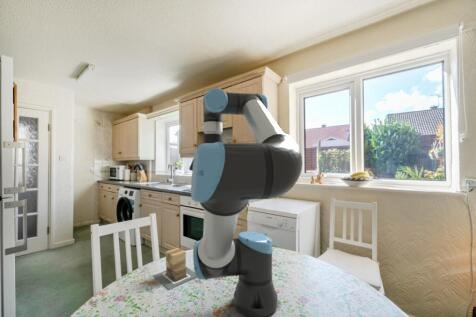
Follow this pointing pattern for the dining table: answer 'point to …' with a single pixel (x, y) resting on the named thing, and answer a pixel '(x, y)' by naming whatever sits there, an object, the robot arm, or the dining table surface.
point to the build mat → (170, 283)
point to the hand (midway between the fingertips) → (213, 187)
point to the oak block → (175, 259)
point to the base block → (176, 273)
